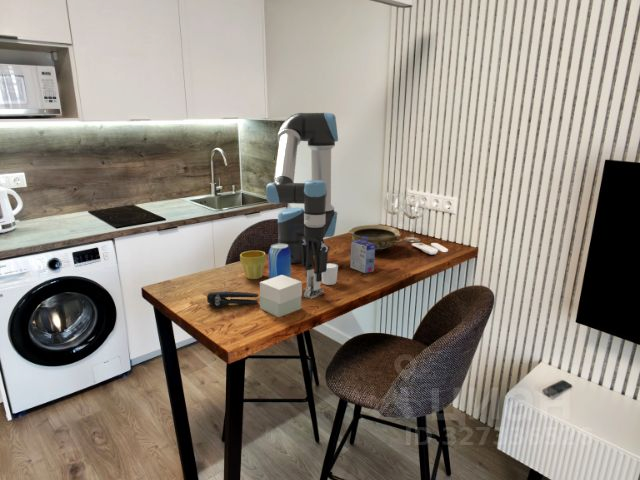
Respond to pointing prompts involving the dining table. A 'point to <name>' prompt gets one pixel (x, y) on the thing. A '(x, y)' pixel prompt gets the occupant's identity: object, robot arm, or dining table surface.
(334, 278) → the white gray-rimmed cylinder
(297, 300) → the tower bottom block
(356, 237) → the ceramic bowl
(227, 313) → the dining table surface
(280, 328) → the dining table surface
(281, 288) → the tower top block
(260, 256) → the plant pot
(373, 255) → the ink cartridge box
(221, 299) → the can opener
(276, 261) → the beer can
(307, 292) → the house of cards
